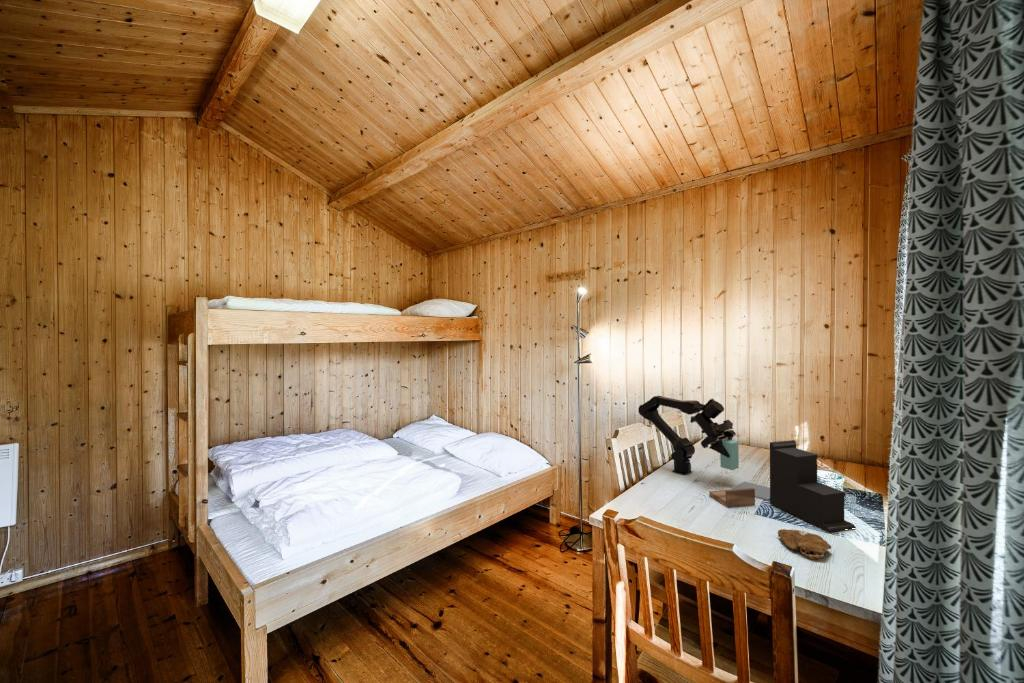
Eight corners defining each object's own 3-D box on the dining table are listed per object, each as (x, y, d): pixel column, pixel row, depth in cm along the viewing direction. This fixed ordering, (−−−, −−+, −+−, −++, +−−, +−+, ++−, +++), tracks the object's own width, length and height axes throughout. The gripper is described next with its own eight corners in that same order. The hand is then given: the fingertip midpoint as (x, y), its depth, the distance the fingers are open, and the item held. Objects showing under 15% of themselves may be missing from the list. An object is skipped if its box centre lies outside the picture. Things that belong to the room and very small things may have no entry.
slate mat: (729, 490, 167) (729, 489, 167) (744, 482, 176) (744, 481, 176) (768, 500, 156) (767, 499, 156) (781, 491, 165) (781, 490, 165)
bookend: (856, 529, 132) (855, 456, 132) (829, 533, 130) (827, 459, 130) (793, 501, 155) (792, 439, 155) (769, 504, 153) (768, 441, 153)
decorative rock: (845, 564, 114) (809, 540, 129) (845, 549, 114) (809, 526, 129) (802, 562, 114) (771, 537, 129) (802, 547, 114) (771, 524, 129)
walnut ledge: (709, 496, 162) (709, 481, 162) (734, 494, 163) (734, 479, 163) (728, 507, 151) (727, 491, 151) (755, 505, 153) (754, 489, 153)
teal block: (720, 467, 173) (720, 441, 173) (726, 464, 176) (726, 439, 176) (732, 470, 169) (732, 443, 169) (738, 467, 172) (738, 441, 172)
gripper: (707, 416, 170) (734, 449, 161) (731, 411, 181) (758, 441, 172) (690, 432, 177) (715, 464, 168) (714, 426, 187) (739, 455, 178)
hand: (732, 455), depth 171 cm, fingers closed on teal block, 5 cm apart
